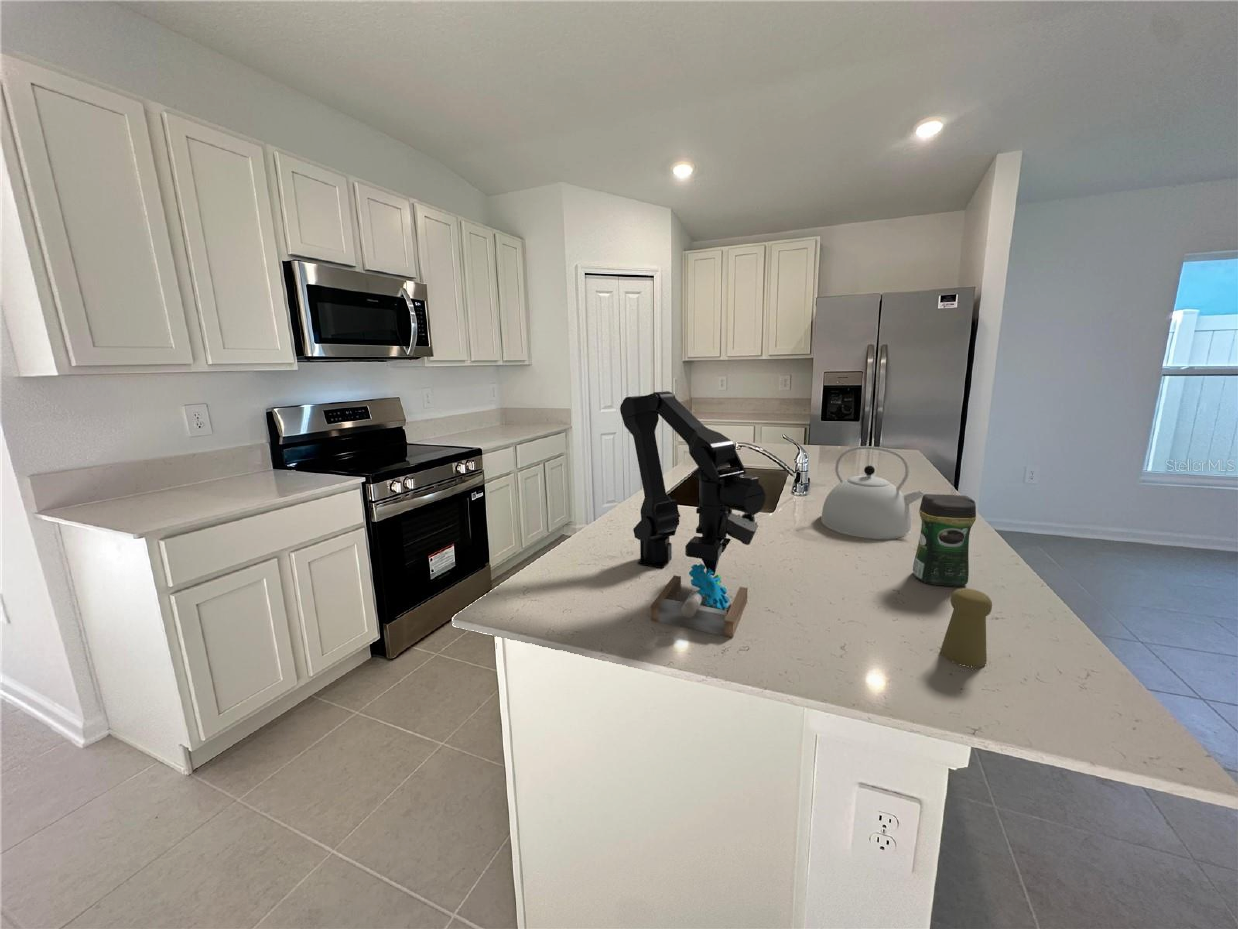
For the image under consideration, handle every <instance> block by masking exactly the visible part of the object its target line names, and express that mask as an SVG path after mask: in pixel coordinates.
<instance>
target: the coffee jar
mask: <svg viewBox="0 0 1238 929" xmlns="http://www.w3.org/2000/svg"><path fill="white" fill-rule="evenodd" d="M923 494H924V495H923V497H922V498H921V502H920V506H919V510H918V512H919V517H920V519H921V525H920V526H921V528H920V534H919V539H918V543H917V549H916V552H915V556H914V561H913V565H912V572H913V575H914V576H915V578H917V579H918V580H920V581H922V582H924V583H926V584H929V585H936V586H949V587H964V586H965V585H967V584H968V583H969V574H970V571H969V569H970V566H969V565H970V564H969V555H970V554H969V552H970V551H969V548H970V545H969V544H970V535H971V531H972V530H971V529H972V527H973V526H974V523H975V521H976V519H977V510H976V509H977V507H976V502H975V500H974V499H973V498H971V497H969V496H967V495H960V494H958V495H957V494H939V493H937V494H935V493H934V494H929V493H923Z"/></svg>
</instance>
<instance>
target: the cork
mask: <svg viewBox="0 0 1238 929" xmlns="http://www.w3.org/2000/svg"><path fill="white" fill-rule="evenodd" d="M950 605H951V607H952V609H953V610H952V613H951V616H950V619H949V623H948V626H947V629H946V632H945V634H944V638H943V641H942V645H941V647H940V650H941V651H940V653H941V655H942V656H943V657H944V658H945V657H946V658H945V659H947V660H948V661H950V662H952V661H953V662H952V663H954V662H955V663H954V664H956V663H957V664H956V665H959V664H961V665H960V666H962V665H965V666H969V667H968V668H971V666H972V667H980V668H982V667H981V666H984V665H985V664H986V665H987V663H986V662H988V661H987V659H988V658H987V655H988V654H987V616H989V615H990V614H991V612H992V608H993V601H992V600H991V598H990V597H989V595H987V594H986V593H984V592H983V591H979V590H977V589H973V588H967V587H966V588H965V587H963V588H956V590H954V591H953V592H952V594H951V596H950ZM986 665H985V666H986ZM965 666H964V667H965ZM985 666H984V667H985Z"/></svg>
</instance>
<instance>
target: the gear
mask: <svg viewBox="0 0 1238 929" xmlns="http://www.w3.org/2000/svg"><path fill="white" fill-rule="evenodd" d="M705 569H706V567H705V565H704V563H703V564H702V563H699V564H696V563H695V564H692V566H691V570H690V571H689V572H688V575H689V576H690V577H692V578H691V580H690V585H691V586H692V587H696V588H698V590H696V591H695V592H697V593H699V594H700V595H701V596H702V597H703V596H704V597H706V598H707V599H706V600H705V601H704V603H705V604H706V607H710V608H711V606H713V608H715V609H720V610H725V611H726V609H727V608H729V606H728V603H729V602H730V598H729V597H728V596H726V594H727V593H728V590H727V588H726V587H724V586H721V585H722V584H721V583H722V580H721V579H722V576H721V574H719V573H718V574H716V575H714V576H713V575H712V574H713V571H712V570H711V569H710V568H709V569H708V570H707V569H706V570H705ZM712 576H713V577H712Z"/></svg>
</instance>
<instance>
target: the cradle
mask: <svg viewBox="0 0 1238 929" xmlns="http://www.w3.org/2000/svg"><path fill="white" fill-rule="evenodd" d="M748 588H749V587H745V586H743V587H742V586H739V588H738V589H737V591H736V595H735V596H734V599H733V601H732V603H731V605H730V607H729V610H728V612H727V610H726V609H725V610H722V609H721V610H720V609H715V608H714V607H711V606H710V607H708V606H704V605H701V604H702V603H703V596H701V595H700V594H699V593H697V592H696V591H693V592H691V593H690V594H689V595H688V597H687V599H686V600H685V602H684V601H678V600H675V599H676V598H677V596H678V595H679V593H680V592H681V590H682V576H680V575H676V574H675V575H674V574H673V576H672V577H671V578H670V579H669V581H668V582H667V584H666V585H665V586H664V588H663V589H661V591H660V593H659V594H658V595H657V596H656V597H655V599H654V600H653V602H652V603H651V604H650V621H654V622H658V623H663V624H667V625H672V626H678V627H681V628H686V629H691V630H695V631H701V632H705V633H709V634H714V635H718V636H722V637H723V636H724V637H728V638H734V637H735V633H736V632H737V628H738V626H739V624H740V621H741V618H742V616H743V614H744V610H745V607H746V606H747V603H748V590H749V589H748ZM679 591H680V592H679ZM678 592H679V593H678ZM677 594H678V595H677ZM675 597H676V598H675Z"/></svg>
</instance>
